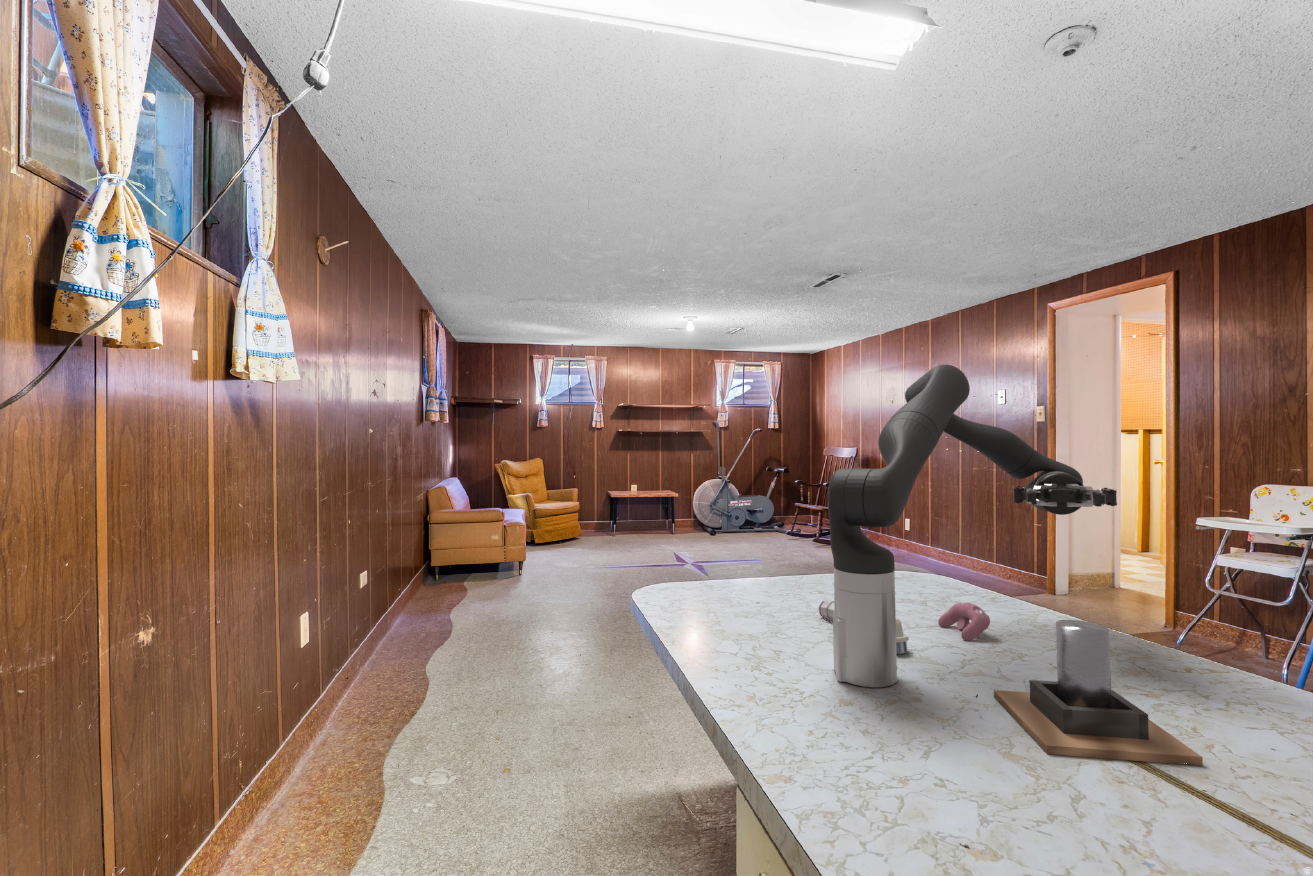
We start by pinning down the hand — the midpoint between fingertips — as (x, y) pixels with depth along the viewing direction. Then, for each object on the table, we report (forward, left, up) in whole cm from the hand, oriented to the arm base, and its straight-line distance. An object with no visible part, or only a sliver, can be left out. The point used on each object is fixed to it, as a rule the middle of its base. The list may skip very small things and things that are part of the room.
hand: (1065, 498), depth 93 cm
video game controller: (-10, +19, -28) cm, 36 cm away
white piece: (-30, +16, -29) cm, 44 cm away
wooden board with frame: (-7, -19, -28) cm, 35 cm away
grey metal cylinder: (-7, -19, -27) cm, 34 cm away
